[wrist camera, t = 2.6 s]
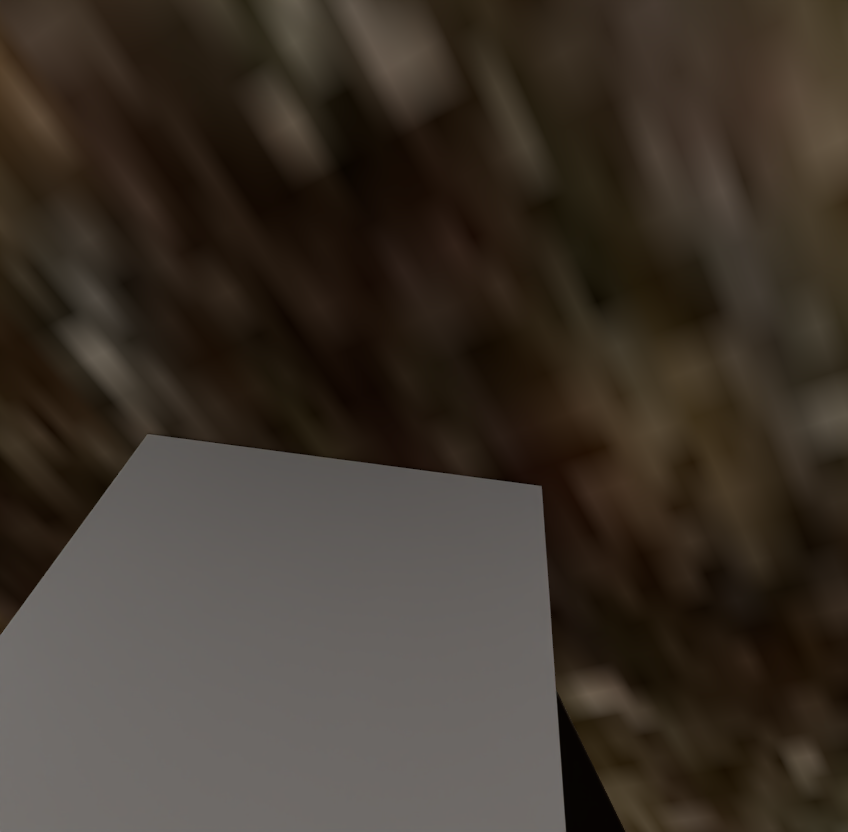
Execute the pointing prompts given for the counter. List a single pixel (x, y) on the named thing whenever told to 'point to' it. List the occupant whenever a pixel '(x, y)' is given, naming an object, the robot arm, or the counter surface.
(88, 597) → the grey cube
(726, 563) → the counter surface
